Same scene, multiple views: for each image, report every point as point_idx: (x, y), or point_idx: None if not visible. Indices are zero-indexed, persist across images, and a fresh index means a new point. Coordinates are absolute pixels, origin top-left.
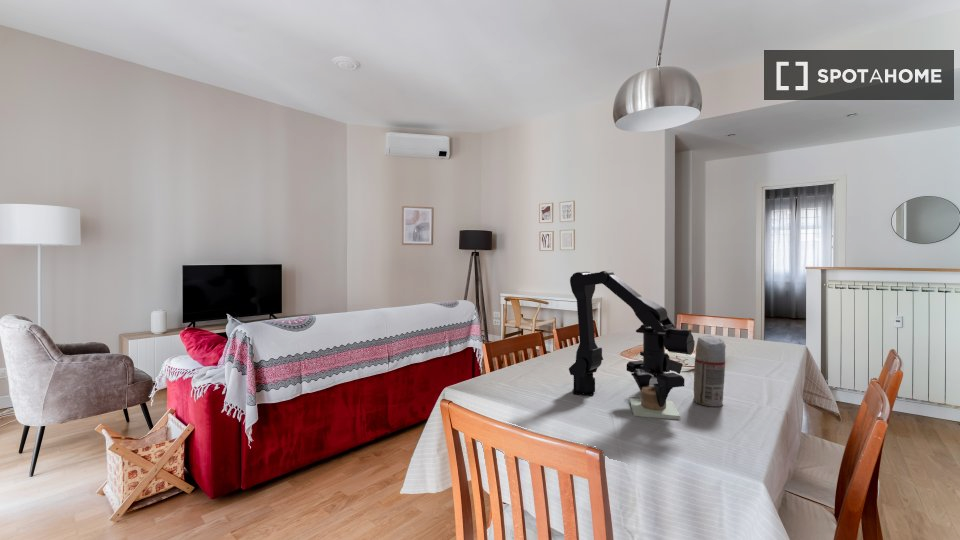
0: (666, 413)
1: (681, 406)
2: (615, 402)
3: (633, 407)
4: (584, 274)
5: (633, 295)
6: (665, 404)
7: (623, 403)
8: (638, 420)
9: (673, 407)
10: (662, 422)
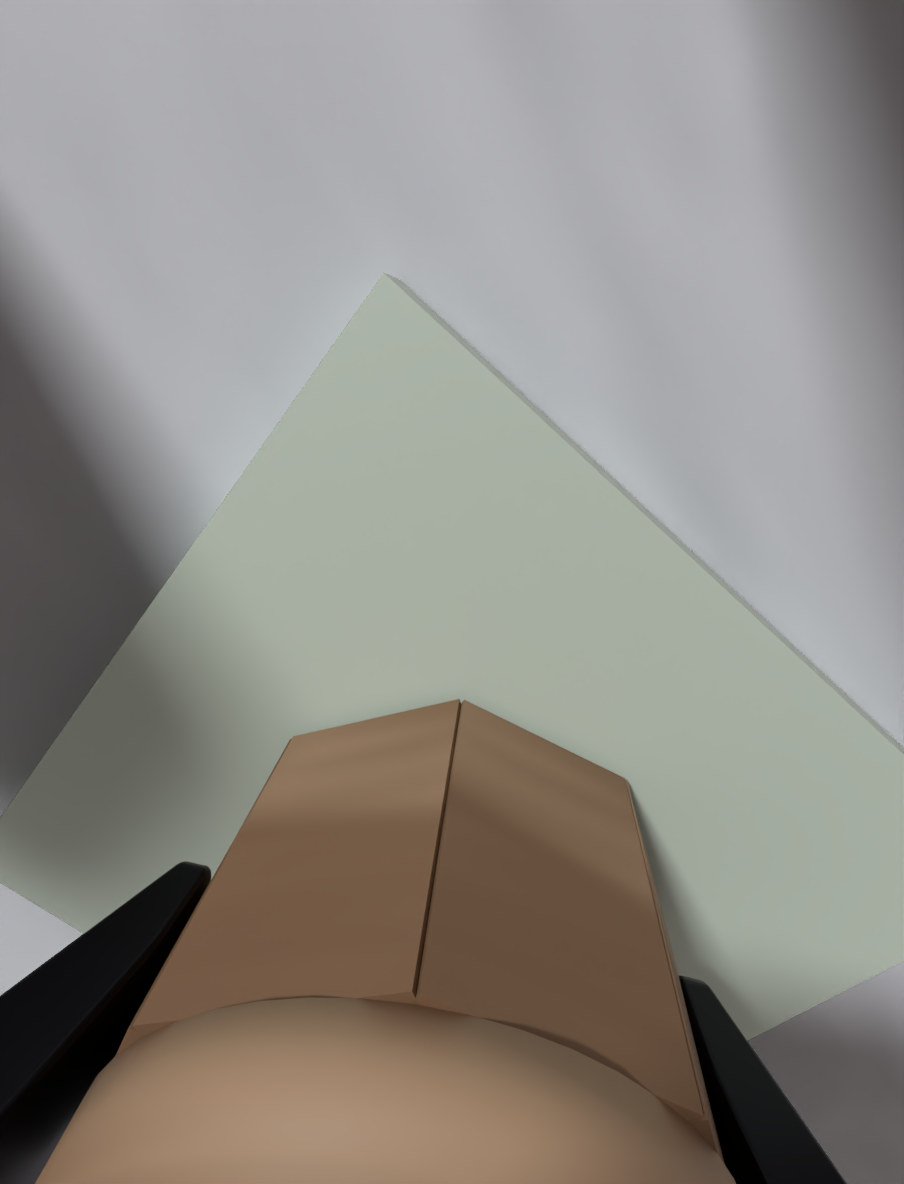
0: (799, 963)
1: (614, 168)
2: (8, 972)
3: None
4: None
5: None
6: (646, 858)
7: (68, 931)
8: None
9: (699, 632)
10: (843, 1061)
